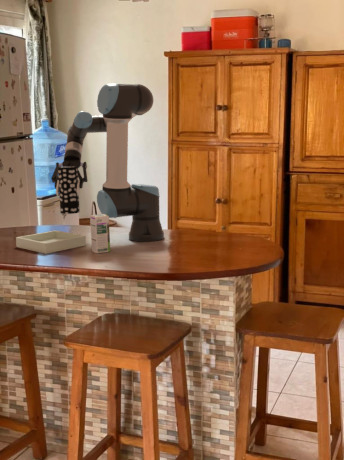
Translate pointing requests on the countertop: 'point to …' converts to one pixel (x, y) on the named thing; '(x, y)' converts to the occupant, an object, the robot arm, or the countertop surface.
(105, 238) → the syrup box
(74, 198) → the spotted tube
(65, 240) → the tray
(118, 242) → the countertop surface
